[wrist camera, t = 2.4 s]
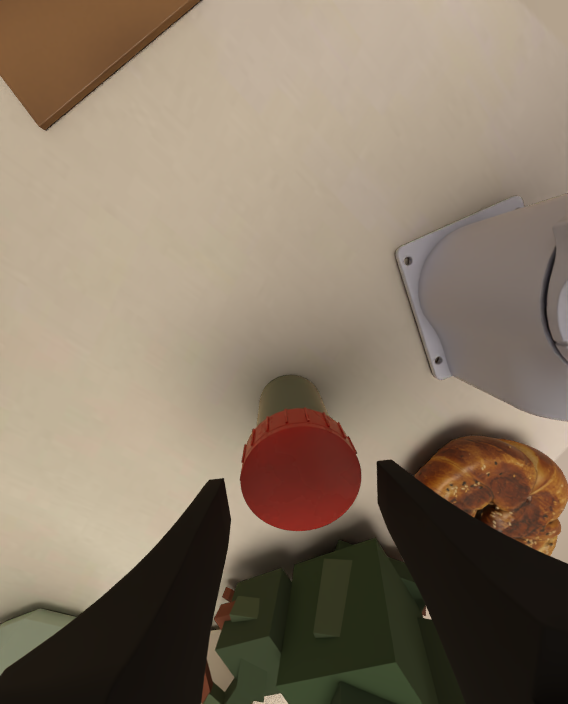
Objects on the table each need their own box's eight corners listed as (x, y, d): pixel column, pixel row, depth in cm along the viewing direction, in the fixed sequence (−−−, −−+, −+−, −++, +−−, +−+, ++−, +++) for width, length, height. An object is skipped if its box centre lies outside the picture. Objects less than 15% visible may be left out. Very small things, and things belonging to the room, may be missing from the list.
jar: (329, 417, 20) (363, 495, 13) (274, 440, 20) (275, 529, 13) (307, 364, 19) (328, 414, 12) (249, 389, 19) (233, 454, 12)
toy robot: (301, 612, 28) (240, 525, 27) (499, 603, 20) (425, 481, 19) (257, 819, 18) (153, 694, 16) (623, 958, 10) (481, 744, 9)
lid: (366, 478, 14) (379, 505, 12) (270, 516, 14) (269, 548, 13) (328, 389, 13) (337, 405, 11) (224, 433, 13) (217, 455, 11)
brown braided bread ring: (439, 615, 20) (414, 565, 24) (591, 573, 19) (542, 528, 23) (397, 482, 17) (377, 448, 21) (570, 427, 17) (519, 402, 20)
